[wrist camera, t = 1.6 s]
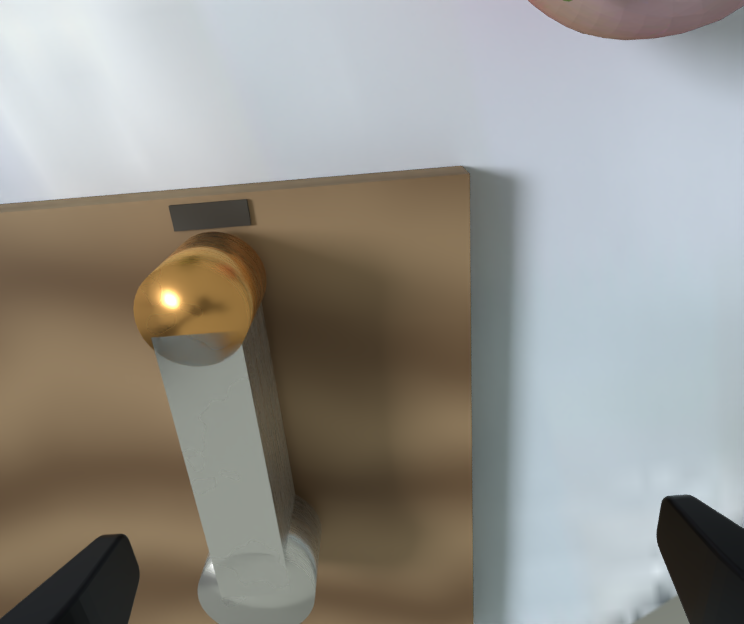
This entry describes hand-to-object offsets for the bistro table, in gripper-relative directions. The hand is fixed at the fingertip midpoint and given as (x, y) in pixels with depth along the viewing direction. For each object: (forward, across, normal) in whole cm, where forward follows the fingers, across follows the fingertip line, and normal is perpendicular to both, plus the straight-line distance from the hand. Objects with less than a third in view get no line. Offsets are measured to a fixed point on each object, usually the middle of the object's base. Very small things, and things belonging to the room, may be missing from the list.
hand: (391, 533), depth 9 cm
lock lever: (+9, +5, +4) cm, 11 cm away
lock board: (+11, +8, +7) cm, 15 cm away
